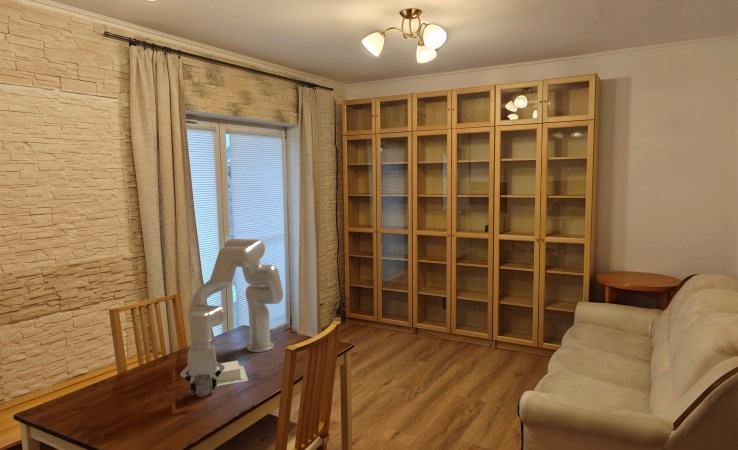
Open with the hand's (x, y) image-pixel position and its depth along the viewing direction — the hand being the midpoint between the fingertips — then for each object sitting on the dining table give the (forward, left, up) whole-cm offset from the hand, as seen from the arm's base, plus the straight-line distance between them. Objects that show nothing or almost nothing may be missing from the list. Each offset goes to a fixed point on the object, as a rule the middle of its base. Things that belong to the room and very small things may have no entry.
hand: (203, 389), depth 179 cm
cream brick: (-13, +10, -2) cm, 16 cm away
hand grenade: (0, 0, -3) cm, 3 cm away
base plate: (-13, +10, -3) cm, 17 cm away
